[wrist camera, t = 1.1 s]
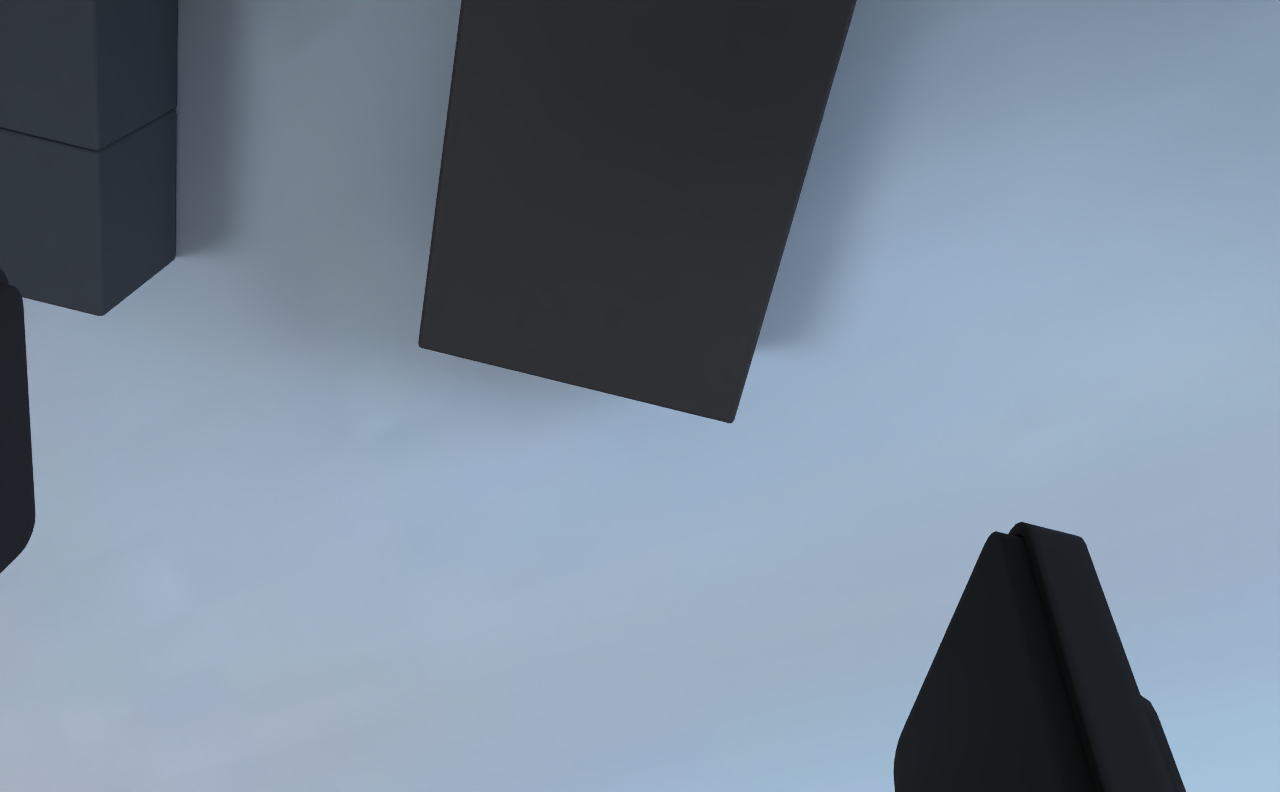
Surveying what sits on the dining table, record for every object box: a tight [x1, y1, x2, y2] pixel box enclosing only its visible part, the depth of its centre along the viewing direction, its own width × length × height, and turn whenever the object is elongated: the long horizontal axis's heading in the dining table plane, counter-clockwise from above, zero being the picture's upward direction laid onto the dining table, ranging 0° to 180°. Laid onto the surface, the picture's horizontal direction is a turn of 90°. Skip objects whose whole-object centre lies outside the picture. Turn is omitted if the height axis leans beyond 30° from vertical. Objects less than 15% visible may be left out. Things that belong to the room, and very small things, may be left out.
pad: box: [418, 0, 857, 423], centre depth 20 cm, size 11×6×3 cm, turn 168°
